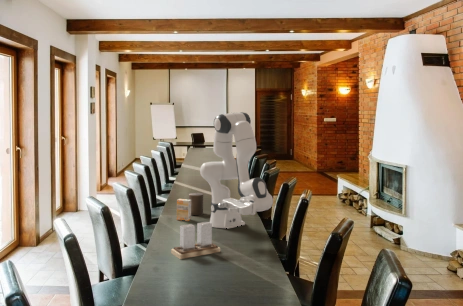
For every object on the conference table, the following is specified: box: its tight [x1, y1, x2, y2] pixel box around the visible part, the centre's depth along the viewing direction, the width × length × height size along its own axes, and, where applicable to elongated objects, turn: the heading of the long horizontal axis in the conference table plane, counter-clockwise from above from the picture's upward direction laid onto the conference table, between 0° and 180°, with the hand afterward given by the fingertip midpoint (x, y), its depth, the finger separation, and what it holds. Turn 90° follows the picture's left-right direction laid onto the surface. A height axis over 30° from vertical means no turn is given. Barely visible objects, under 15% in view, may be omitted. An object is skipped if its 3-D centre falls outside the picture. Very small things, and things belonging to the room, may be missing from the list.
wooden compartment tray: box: [170, 242, 221, 260], centre depth 216 cm, size 22×10×3 cm, turn 122°
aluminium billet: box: [196, 221, 213, 248], centre depth 218 cm, size 6×4×12 cm, turn 123°
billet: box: [179, 223, 196, 251], centre depth 213 cm, size 6×4×12 cm, turn 123°
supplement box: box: [176, 198, 192, 222], centre depth 278 cm, size 8×5×13 cm, turn 73°
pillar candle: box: [188, 192, 204, 216], centre depth 294 cm, size 10×10×15 cm
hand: (223, 208), depth 224 cm, fingers open, 8 cm apart
